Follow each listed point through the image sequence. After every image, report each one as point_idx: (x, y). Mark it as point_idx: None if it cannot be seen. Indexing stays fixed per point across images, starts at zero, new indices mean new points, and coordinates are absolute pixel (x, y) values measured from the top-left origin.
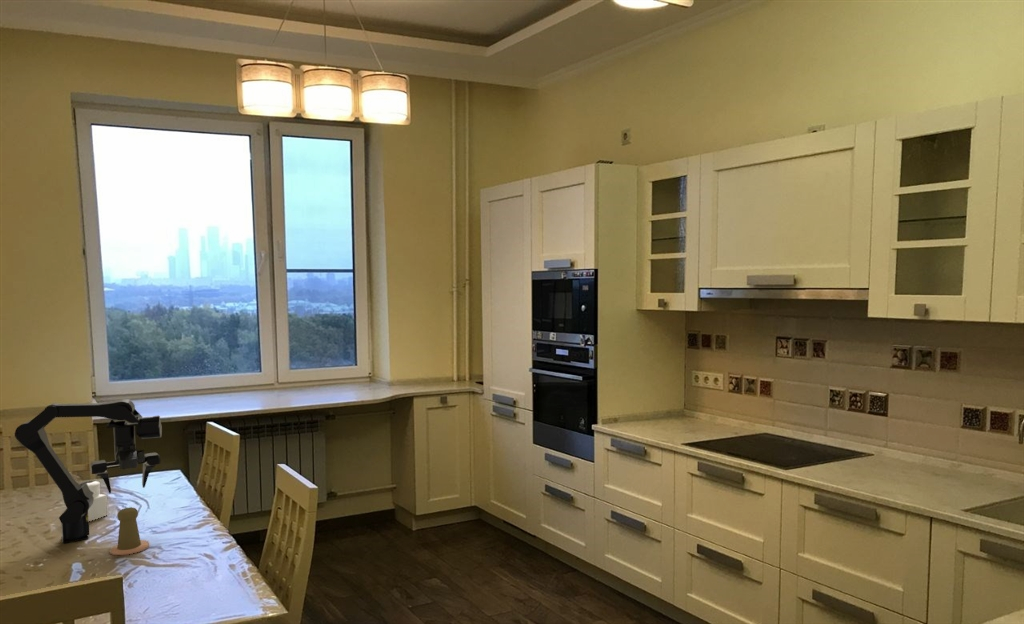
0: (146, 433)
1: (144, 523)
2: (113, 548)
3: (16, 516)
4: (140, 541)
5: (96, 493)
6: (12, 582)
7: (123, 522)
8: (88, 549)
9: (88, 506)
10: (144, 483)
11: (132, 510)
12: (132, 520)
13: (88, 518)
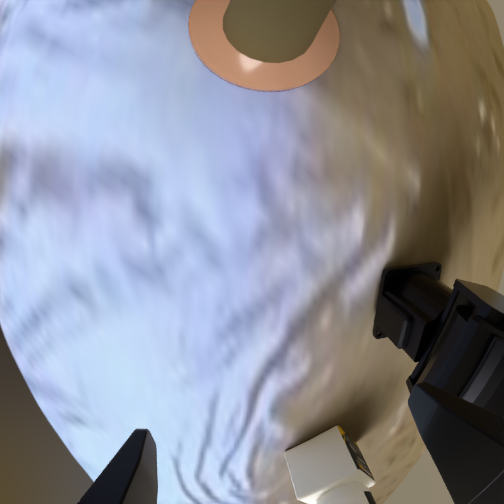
0: None
1: (181, 344)
2: (327, 41)
3: (406, 467)
4: (225, 12)
5: (331, 498)
6: (500, 47)
7: None
8: (396, 140)
9: (471, 315)
10: (127, 457)
11: None
12: None
13: (339, 432)
